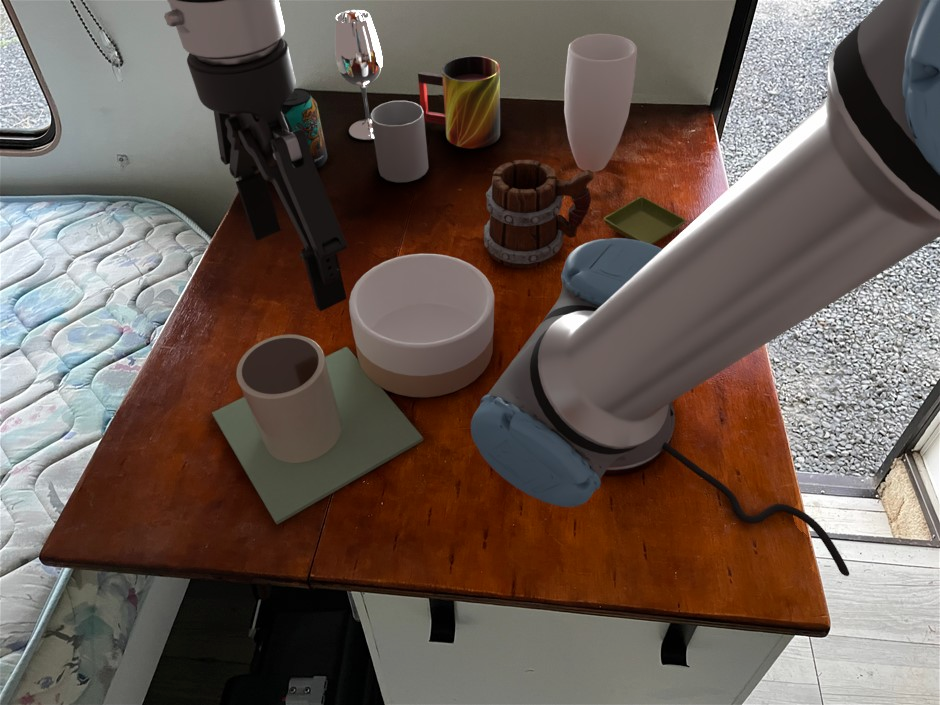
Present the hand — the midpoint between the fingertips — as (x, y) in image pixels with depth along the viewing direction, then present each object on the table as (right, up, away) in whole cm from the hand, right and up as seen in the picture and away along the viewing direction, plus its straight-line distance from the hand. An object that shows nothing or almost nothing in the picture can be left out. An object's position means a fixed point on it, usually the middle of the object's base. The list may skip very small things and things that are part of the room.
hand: (297, 266), depth 68 cm
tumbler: (-6, -15, +7) cm, 18 cm away
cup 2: (+36, +20, +47) cm, 62 cm away
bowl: (+11, -8, +21) cm, 25 cm away
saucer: (+42, +10, +37) cm, 57 cm away
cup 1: (+5, +23, +51) cm, 56 cm away
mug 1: (+15, +30, +58) cm, 67 cm away
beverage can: (-11, +24, +54) cm, 60 cm away
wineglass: (-2, +32, +61) cm, 69 cm away
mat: (-1, -17, +13) cm, 22 cm away
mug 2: (+26, +7, +35) cm, 44 cm away
